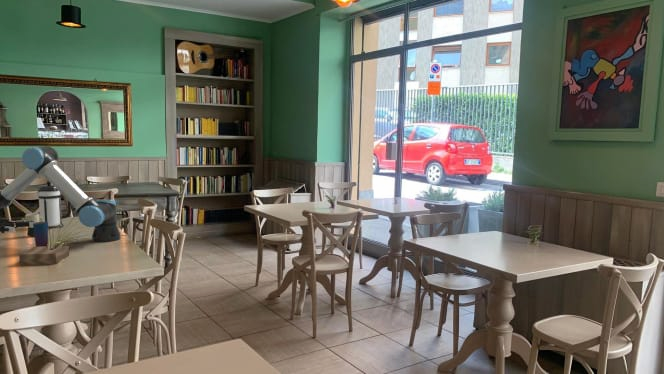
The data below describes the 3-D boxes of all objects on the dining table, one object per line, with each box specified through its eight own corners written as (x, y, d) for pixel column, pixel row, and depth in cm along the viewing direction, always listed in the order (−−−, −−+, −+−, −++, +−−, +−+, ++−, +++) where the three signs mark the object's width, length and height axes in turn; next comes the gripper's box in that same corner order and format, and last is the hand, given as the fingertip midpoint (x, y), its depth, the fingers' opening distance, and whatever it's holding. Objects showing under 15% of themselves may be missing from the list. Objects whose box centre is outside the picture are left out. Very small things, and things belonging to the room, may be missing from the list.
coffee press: (58, 229, 320) (55, 182, 316) (33, 229, 320) (30, 182, 317) (72, 224, 337) (70, 179, 334) (48, 224, 337) (46, 179, 334)
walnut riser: (69, 255, 254) (68, 245, 253) (56, 263, 238) (55, 253, 238) (34, 256, 252) (34, 246, 251) (19, 265, 236) (19, 254, 236)
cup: (34, 253, 258) (32, 224, 256) (34, 250, 264) (33, 222, 262) (49, 252, 261) (47, 223, 259) (49, 249, 267) (48, 221, 265)
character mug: (44, 234, 306) (43, 212, 304) (43, 236, 299) (42, 214, 298) (23, 235, 301) (21, 214, 299) (22, 238, 294) (20, 216, 293)
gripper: (21, 227, 285) (48, 230, 277) (-25, 235, 262) (3, 239, 254) (20, 214, 284) (47, 217, 276) (-26, 221, 261) (3, 224, 253)
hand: (26, 227), depth 265 cm, fingers open, 13 cm apart
